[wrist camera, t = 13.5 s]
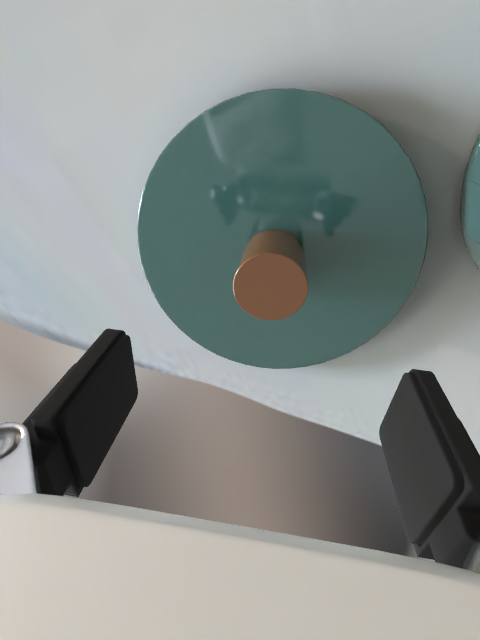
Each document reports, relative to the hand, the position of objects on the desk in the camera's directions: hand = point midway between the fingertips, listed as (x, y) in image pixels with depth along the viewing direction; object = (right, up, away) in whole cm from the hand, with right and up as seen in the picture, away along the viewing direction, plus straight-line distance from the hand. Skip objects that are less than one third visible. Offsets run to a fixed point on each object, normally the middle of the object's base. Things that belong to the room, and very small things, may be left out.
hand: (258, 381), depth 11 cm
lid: (+2, +6, +10) cm, 12 cm away
